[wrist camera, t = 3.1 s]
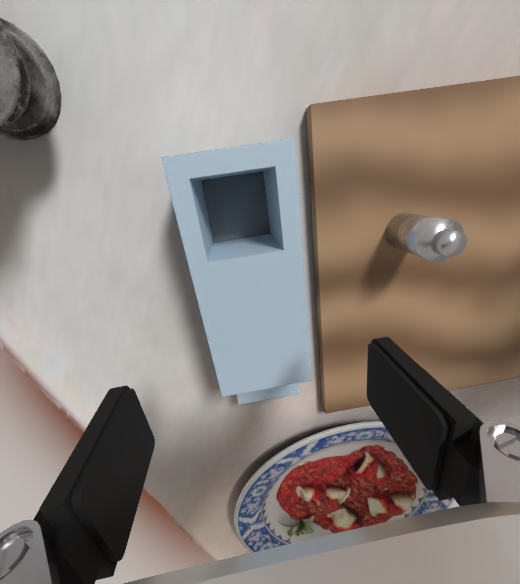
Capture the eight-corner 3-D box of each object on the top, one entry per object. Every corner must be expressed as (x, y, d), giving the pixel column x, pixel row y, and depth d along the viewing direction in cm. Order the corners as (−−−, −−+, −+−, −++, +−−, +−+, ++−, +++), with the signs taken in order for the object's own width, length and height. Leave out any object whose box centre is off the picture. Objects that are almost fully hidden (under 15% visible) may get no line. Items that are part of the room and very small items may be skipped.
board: (306, 109, 15) (310, 104, 15) (674, 58, 16) (700, 51, 16) (322, 405, 25) (325, 413, 24) (556, 361, 26) (568, 368, 25)
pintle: (386, 215, 17) (435, 225, 13) (420, 210, 18) (480, 218, 13) (384, 250, 18) (430, 269, 14) (416, 244, 18) (471, 262, 14)
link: (298, 376, 23) (315, 423, 19) (232, 388, 23) (232, 439, 18) (276, 151, 16) (294, 138, 12) (181, 165, 16) (160, 157, 11)
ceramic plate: (427, 366, 25) (451, 389, 22) (459, 502, 35) (479, 529, 32) (190, 467, 27) (185, 499, 24) (285, 568, 37) (289, 599, 34)
